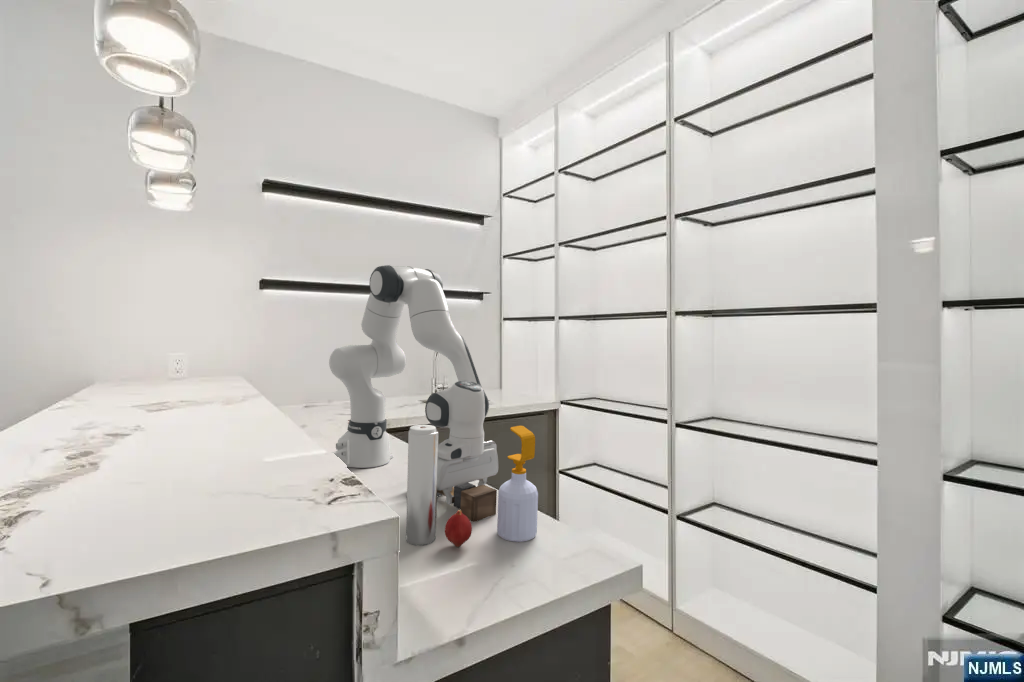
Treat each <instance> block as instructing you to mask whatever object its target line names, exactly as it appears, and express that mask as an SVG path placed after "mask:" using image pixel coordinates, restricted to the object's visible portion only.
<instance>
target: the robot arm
mask: <svg viewBox="0 0 1024 682" xmlns="http://www.w3.org/2000/svg"><path fill="white" fill-rule="evenodd" d="M369 277H370V278H369V291H370V293H369V296H368V299H367V302H366V305H365V309H364V313H363V317H362V320H361V323H360V325H361V330H362V332H363V333H364V335H366V336H367V337H368V338H369V339H371V343H370V344H354V345H353V344H350V345H345V346H340V347H336V348H335V349H334V350H333V351H332V353H331V354H330V355H329V362H328V363H329V364H328V365H329V369H330V372H331V373H332V375H333V376H334V377H336V378H337V379H338V380H340V382H342V383H343V385H344V387H345V388H346V390H347V393H348V395H349V403H350V419H348V420H347V429H346V431H345V433H344V434H343V435H342V436H341V437H339V438H338V440H337V442H336V444H335V451H332V452H331V453H334V454H335V455H336V456H337V457H339V458H340V459H341V460H342V461H343V462H344V463H345V464H346V465H347V467H346V468H357V469H360V468H362V469H363V468H365V469H367V468H376V467H380V466H383V465H386V464H388V463H390V460H391V459H392V458H394V454H393V453H391V447H390V434H389V433H388V432H387V426H388V423H387V418H386V405H387V404H386V402H387V399H386V396H385V394H384V393H383V392H382V391H380V390H379V389H377V388H375V387H373V385H372V379H374V378H375V379H378V378H379V379H380V378H389V377H392V376H395V375H399V374H401V373H402V372H403V371H404V370H405V368H406V365H407V357H406V353H405V352H404V350H403V349H402V347H401V346H399V344H398V341H397V332H398V328H399V323H400V320H401V317H402V313H403V310H404V306H405V305H407V308H408V314H409V321H410V328H411V331H412V335H413V337H414V339H415V341H417V342H418V343H419V344H420V345H421V346H422V347H424V348H426V349H428V350H431V351H434V352H437V353H439V354H441V355H443V356H444V357H446V358H447V359H448V360H449V361H450V363H451V364H452V366H453V370H454V372H455V375H456V378H457V381H456V382H454V383H453V384H452V386H450V387H449V388H446V389H444V390H439V391H436V392H433V393H431V394H430V395H429V397H427V400H426V403H425V406H424V407H425V411H424V412H425V418H426V420H427V421H428V422H429V424H430V425H432V426H435V427H436V428H448V429H449V437H447V438H446V439H445V440H443V441H441V442H440V443H438V472H437V490H443V492H444V494H445V496H444V497H445V503H446V504H448V505H453V504H454V503H455V496H452V495H451V493H450V491H452V487H454V486H458V485H461V484H465V483H471V482H475V481H478V483H477V486H481V485H486V484H487V482H488V478H489V477H492V476H496V475H497V474H498V472H499V457H498V451H497V450H498V449H497V447H498V445H497V444H496V441H493V440H488V441H485V431H484V422H485V418H486V417H487V415H488V413H489V408H490V403H489V398H488V396H487V394H486V392H485V390H484V388H483V387H482V384H481V382H480V379H479V375H478V373H477V371H476V370H477V369H476V367H475V365H474V362H473V358H472V355H471V352H470V350H469V346H468V345H467V343H466V340H465V338H464V337H463V336H462V335H461V334H460V333H459V332H458V330H457V328H456V327H455V325H454V323H453V321H452V318H451V315H450V309H449V306H448V305H449V304H448V302H447V298H446V295H445V293H444V290H443V288H444V287H443V286H444V284H443V280H442V277H441V275H440V274H439V273H438V272H436V271H434V270H432V269H428V268H425V269H424V268H421V267H420V268H419V267H416V266H399V265H396V266H394V265H391V264H389V265H388V264H387V265H380V266H379V265H378V266H377V267H375V268H374V269H373V271H372V273H371V274H370V276H369Z"/></svg>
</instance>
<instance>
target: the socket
mask: <svg viewBox="0 0 1024 682" xmlns="http://www.w3.org/2000/svg"><path fill="white" fill-rule="evenodd" d="M497 493H498V491H497V489H495V488H493V487H491V486H488V485H486V484H485V485H481V486H478V485H476V487H474V488H470V489H467V490H464V491H461V512H462V513H463V514H464V515H466V516H467V517H468V519H469V520H470V522H471V523H475V522H479V521H481V520H484V519H488V518H490V517H493V516H495V515H497V499H498V497H497Z"/></svg>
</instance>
